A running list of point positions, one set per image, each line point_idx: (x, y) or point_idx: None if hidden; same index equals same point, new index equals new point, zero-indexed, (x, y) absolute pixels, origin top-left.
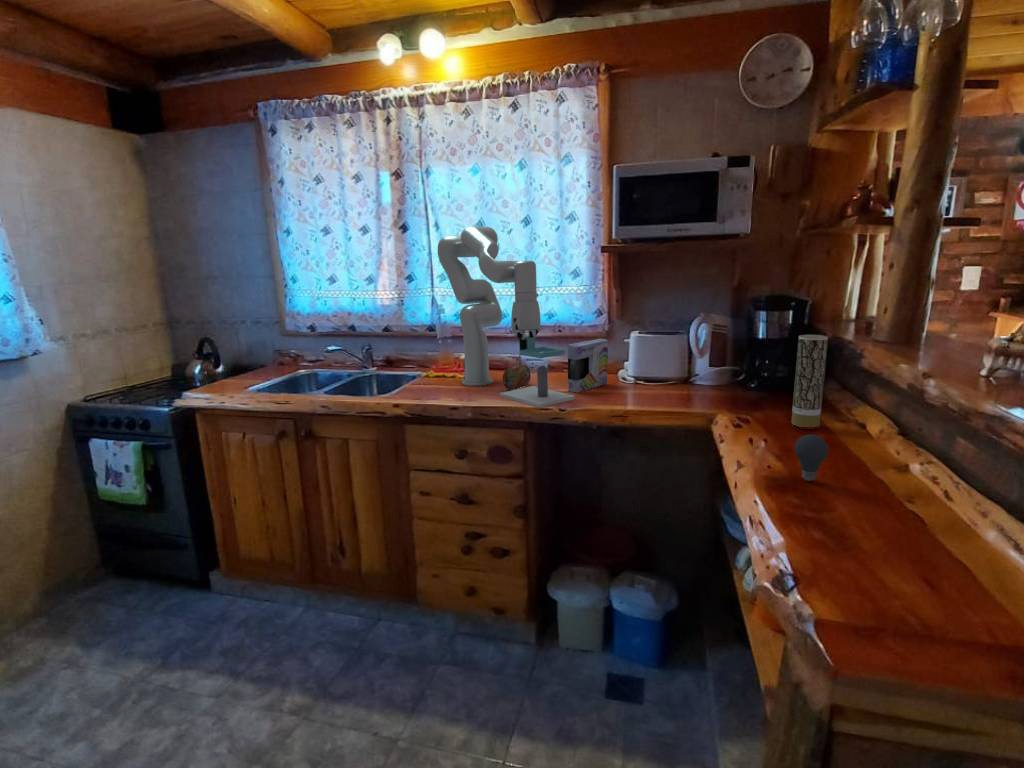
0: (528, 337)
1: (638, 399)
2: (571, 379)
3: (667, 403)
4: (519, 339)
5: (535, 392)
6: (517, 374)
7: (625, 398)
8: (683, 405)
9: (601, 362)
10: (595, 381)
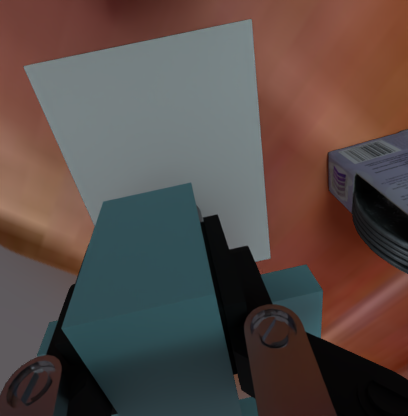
0: (198, 371)
1: (380, 313)
2: (353, 195)
3: (387, 352)
4: (41, 373)
5: (187, 153)
6: None
7: (370, 296)
8: (392, 368)
9: None
10: None
